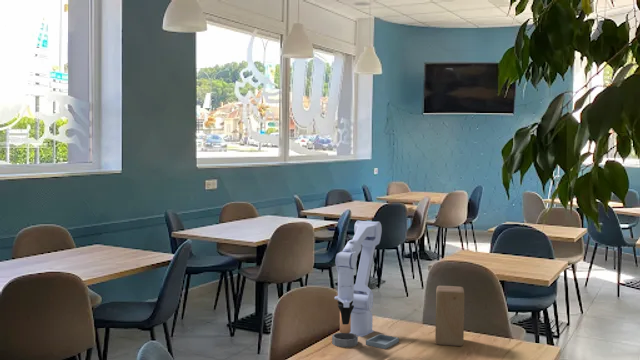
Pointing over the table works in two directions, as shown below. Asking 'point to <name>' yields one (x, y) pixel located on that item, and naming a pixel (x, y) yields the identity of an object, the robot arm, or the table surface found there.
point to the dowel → (345, 326)
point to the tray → (382, 341)
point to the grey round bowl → (345, 339)
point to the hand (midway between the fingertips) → (345, 322)
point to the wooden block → (449, 315)
